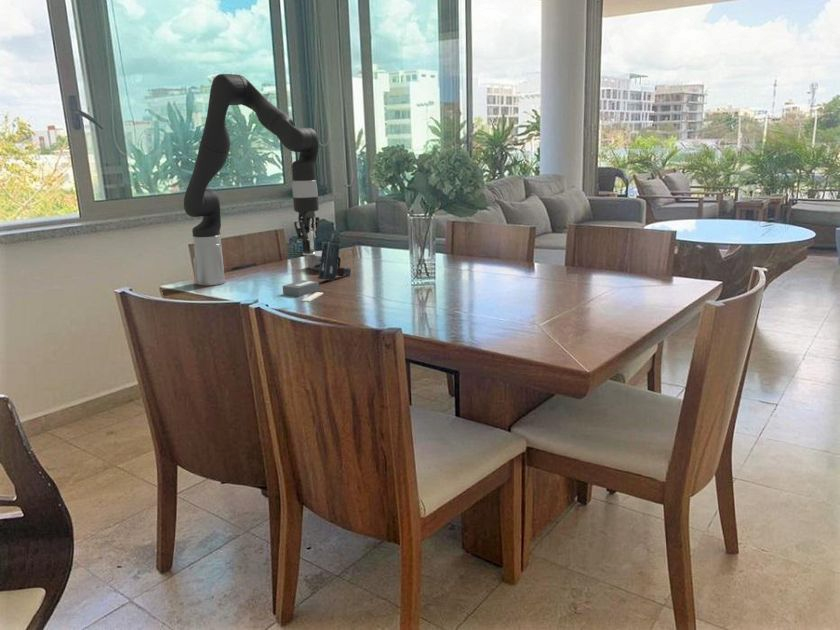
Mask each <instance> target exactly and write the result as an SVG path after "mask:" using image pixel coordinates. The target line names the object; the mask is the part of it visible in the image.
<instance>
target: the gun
mask: <svg viewBox="0 0 840 630" xmlns="http://www.w3.org/2000/svg"><path fill="white" fill-rule="evenodd" d="M335 236H336V235H335V233H334V232H331V234H330V238H329V239H328V241H323V242H322V247H321V249H322V250H321V251H322V255H321V259H320V262H321V264H320V272H319V271H318V272H319V274H318V276H317V279H318V280H326V281H335V279H336V277H337V276H338V277H345V276H347V277H349V276H351V270H352V269H351V268H349V267H346V268H345V267H341V262H342V261H341V257H340V244H339V243H335V242H336V239H335Z"/></svg>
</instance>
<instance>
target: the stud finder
mask: <svg viewBox="0 0 840 630" xmlns="http://www.w3.org/2000/svg"><path fill="white" fill-rule="evenodd" d="M318 291H319V292H320V282H319V281H314V280H313V281H311V280H306V279H305V280H304V279H302V280H298V281H295V282H292V283H288V284H285V285H282V294H283V295H285V296H293V297H303V296H306V295H308V294H312V293H313V294H314V293H316V292H318Z"/></svg>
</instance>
